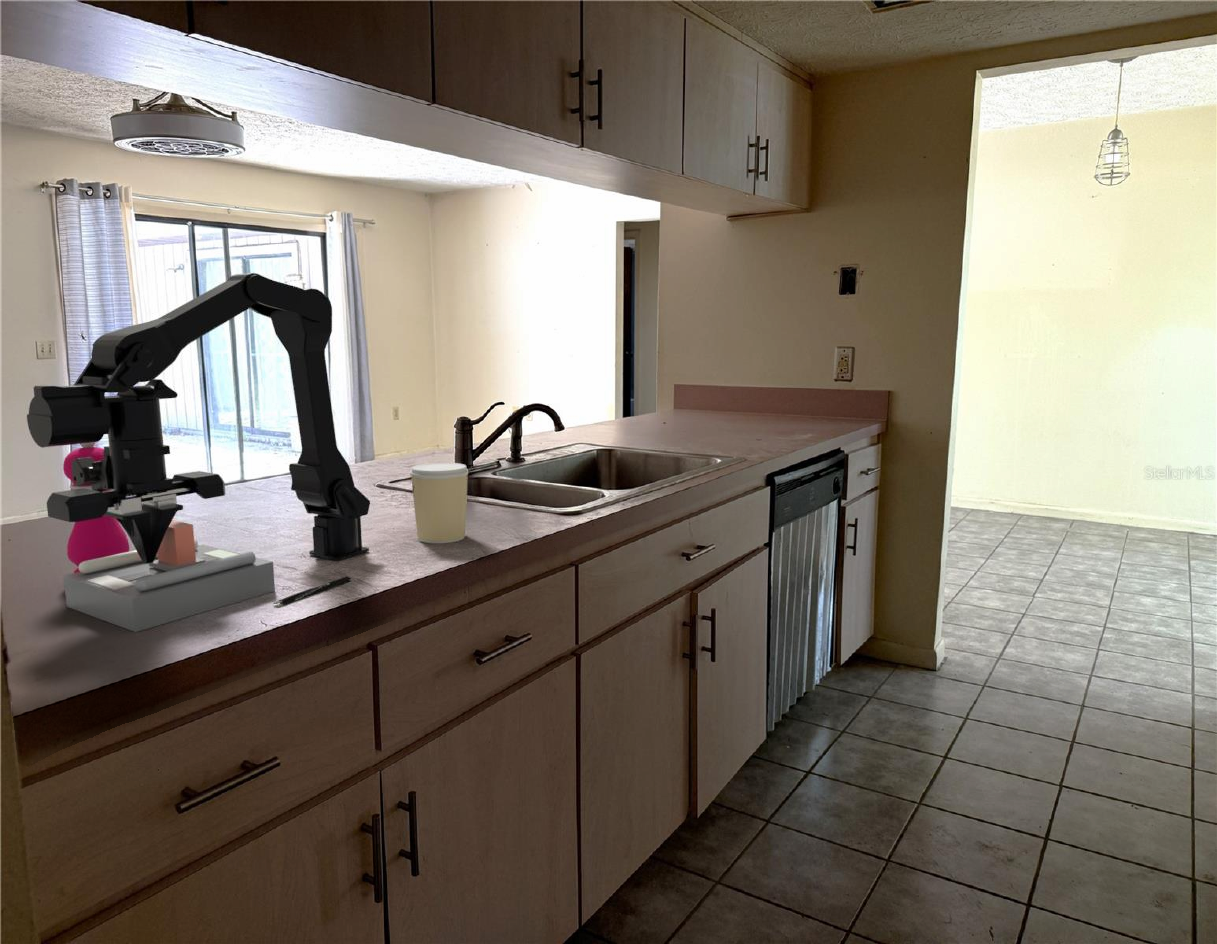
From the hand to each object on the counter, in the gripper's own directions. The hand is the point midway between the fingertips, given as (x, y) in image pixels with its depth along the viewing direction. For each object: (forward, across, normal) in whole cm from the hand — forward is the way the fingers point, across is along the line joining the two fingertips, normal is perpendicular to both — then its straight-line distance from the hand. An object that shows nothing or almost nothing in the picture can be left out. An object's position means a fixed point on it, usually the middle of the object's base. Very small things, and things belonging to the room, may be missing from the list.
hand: (148, 562), depth 101 cm
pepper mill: (+6, -2, -16) cm, 17 cm away
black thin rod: (+6, -14, +13) cm, 20 cm away
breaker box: (+5, -3, 0) cm, 6 cm away
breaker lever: (+1, -4, 0) cm, 4 cm away
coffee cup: (+6, -45, +6) cm, 46 cm away
